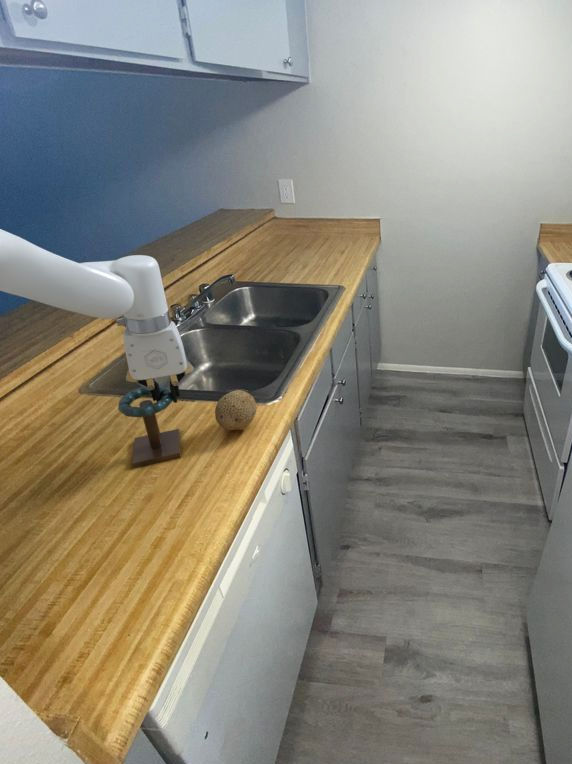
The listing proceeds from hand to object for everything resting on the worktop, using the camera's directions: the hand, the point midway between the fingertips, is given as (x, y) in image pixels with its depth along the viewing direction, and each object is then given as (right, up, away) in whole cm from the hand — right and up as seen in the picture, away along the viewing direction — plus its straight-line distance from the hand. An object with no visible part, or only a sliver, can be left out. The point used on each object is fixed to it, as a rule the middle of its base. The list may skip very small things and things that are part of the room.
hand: (167, 400), depth 99 cm
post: (-4, -11, +4) cm, 13 cm away
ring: (-4, 0, -2) cm, 4 cm away
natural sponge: (+11, -8, +11) cm, 18 cm away
